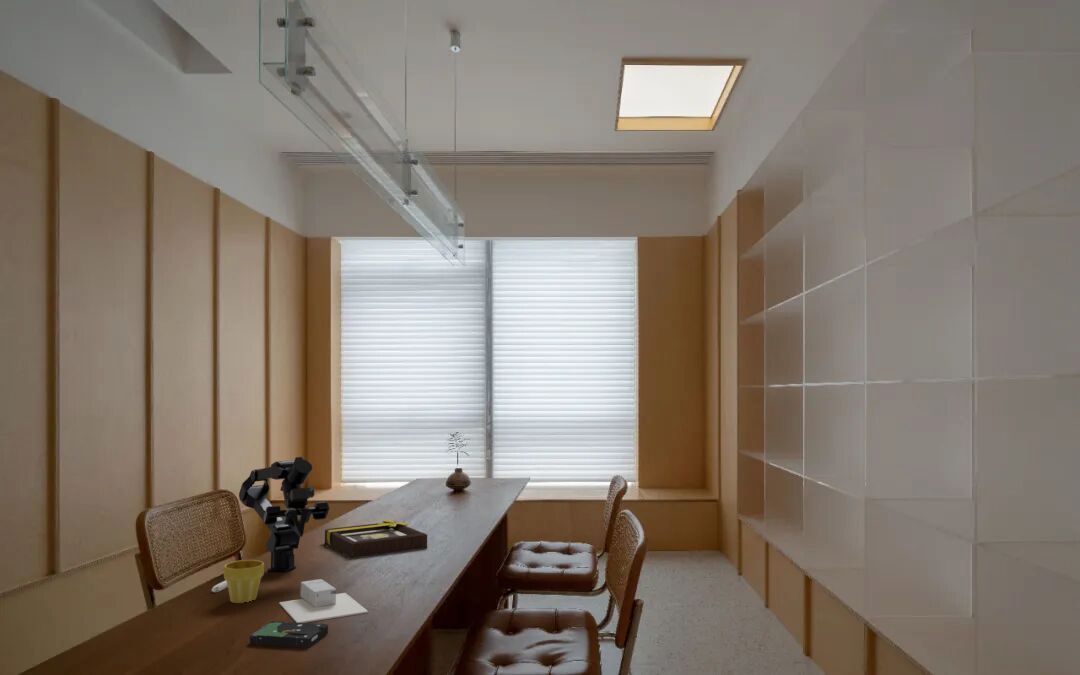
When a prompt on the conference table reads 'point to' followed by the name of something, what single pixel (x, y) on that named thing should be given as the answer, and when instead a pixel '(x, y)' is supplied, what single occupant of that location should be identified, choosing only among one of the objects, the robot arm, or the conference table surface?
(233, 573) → the plant pot
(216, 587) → the marker
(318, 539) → the conference table surface
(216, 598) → the conference table surface
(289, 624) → the disk drive
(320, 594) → the skincare box
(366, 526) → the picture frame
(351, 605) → the mat
